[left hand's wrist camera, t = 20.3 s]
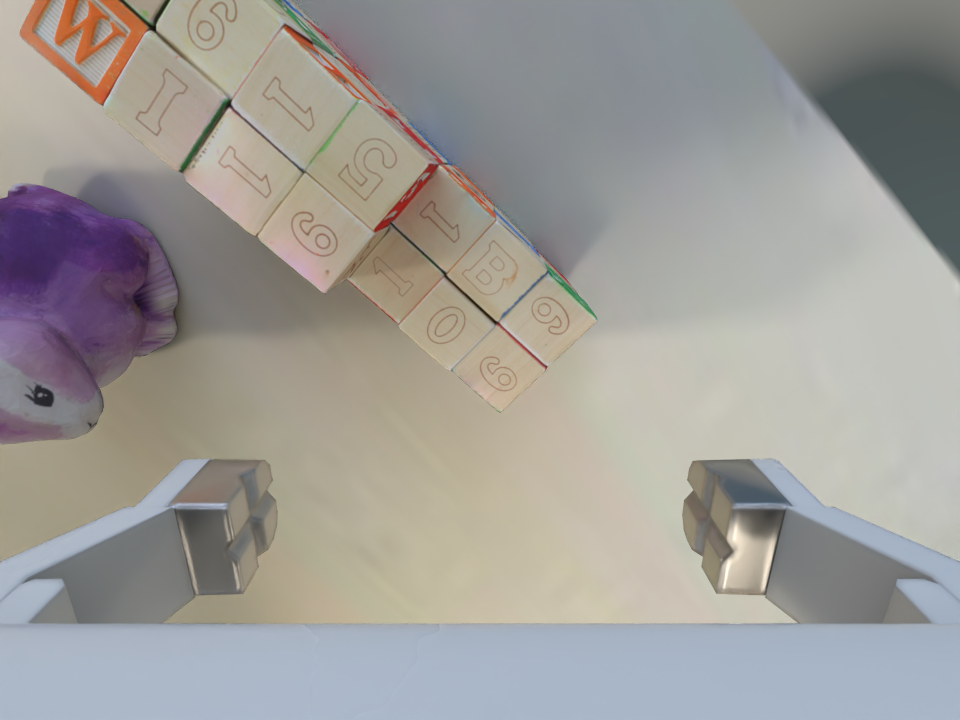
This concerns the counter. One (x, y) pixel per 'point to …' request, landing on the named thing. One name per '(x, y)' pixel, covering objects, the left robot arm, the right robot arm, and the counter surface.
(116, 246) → the figurine
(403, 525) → the counter surface
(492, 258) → the stack of blocks
